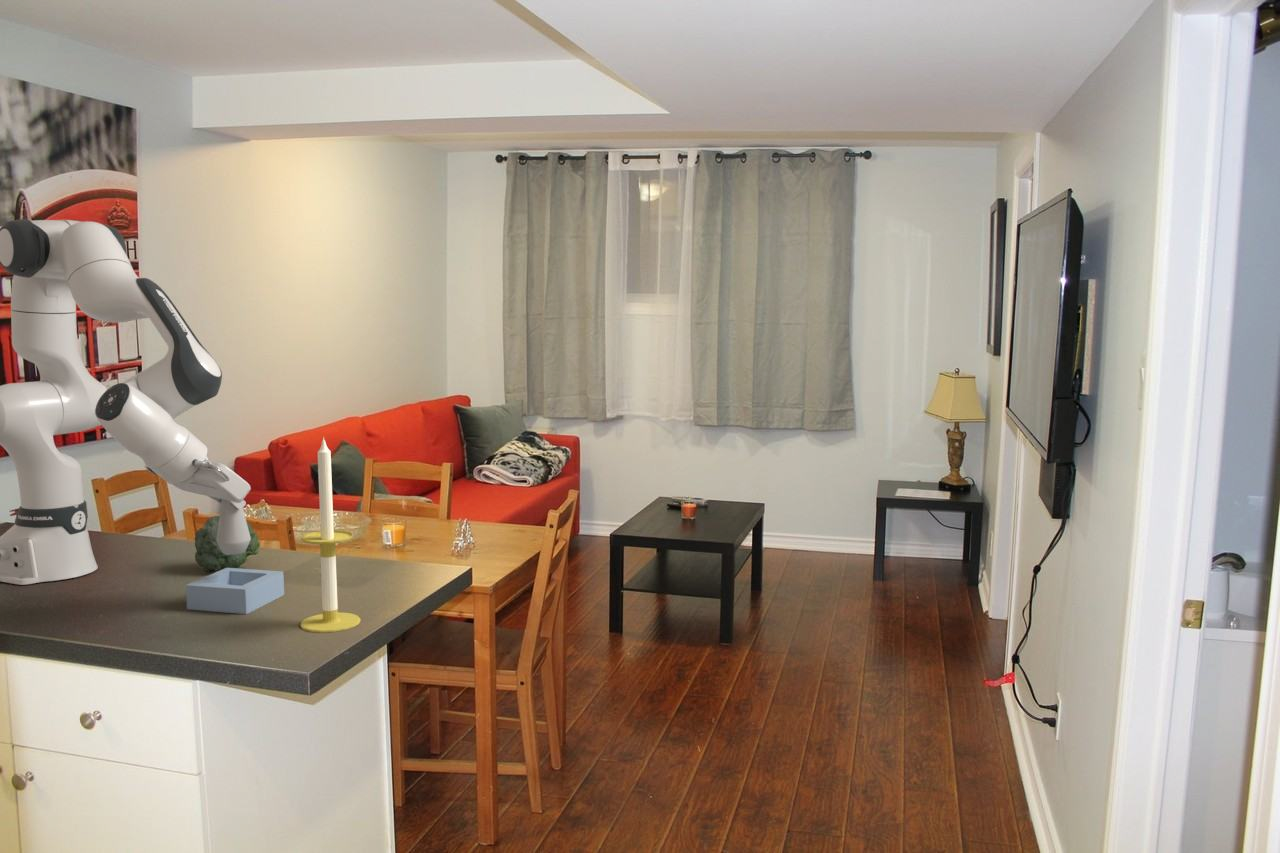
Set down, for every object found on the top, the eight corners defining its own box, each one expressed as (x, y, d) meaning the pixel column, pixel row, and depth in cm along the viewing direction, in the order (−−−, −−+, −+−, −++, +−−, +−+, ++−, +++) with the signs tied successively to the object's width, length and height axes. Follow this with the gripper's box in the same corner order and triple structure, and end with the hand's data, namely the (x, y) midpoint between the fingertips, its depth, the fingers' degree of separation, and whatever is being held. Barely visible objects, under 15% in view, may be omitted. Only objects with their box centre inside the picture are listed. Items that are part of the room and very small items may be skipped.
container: (187, 609, 185) (185, 585, 184) (228, 590, 197) (226, 567, 196) (246, 614, 182) (245, 589, 182) (284, 594, 194) (283, 571, 193)
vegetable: (284, 549, 219) (254, 534, 205) (239, 594, 217) (206, 582, 202) (248, 513, 222) (216, 495, 208) (203, 556, 220) (168, 541, 206)
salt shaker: (216, 550, 189) (212, 480, 188) (249, 546, 192) (245, 477, 190) (218, 557, 184) (214, 486, 183) (252, 553, 187) (248, 483, 185)
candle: (287, 627, 175) (279, 438, 171) (327, 611, 184) (320, 431, 180) (334, 635, 171) (326, 442, 167) (372, 618, 180) (366, 434, 176)
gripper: (224, 449, 174) (278, 497, 183) (162, 439, 186) (216, 484, 195) (200, 479, 171) (256, 526, 180) (139, 466, 183) (195, 511, 192)
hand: (235, 504), depth 188 cm, fingers closed on salt shaker, 3 cm apart
